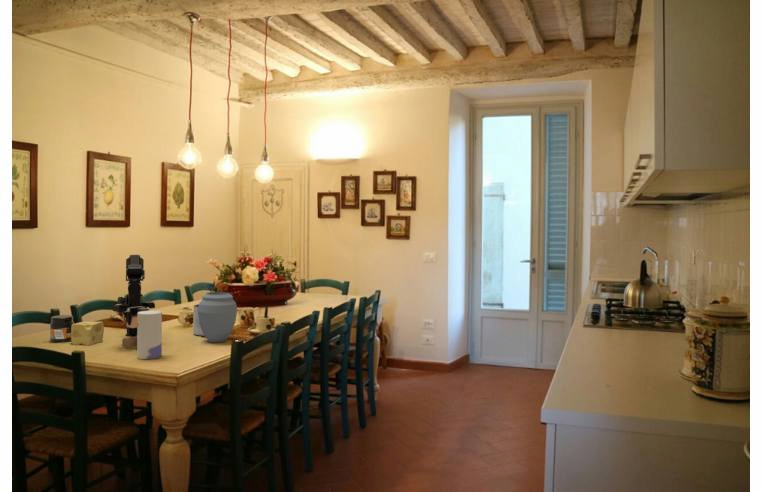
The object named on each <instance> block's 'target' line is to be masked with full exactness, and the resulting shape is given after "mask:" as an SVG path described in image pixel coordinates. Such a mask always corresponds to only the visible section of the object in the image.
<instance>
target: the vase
mask: <svg viewBox="0 0 764 492" xmlns="http://www.w3.org/2000/svg"><path fill="white" fill-rule="evenodd" d="M233 298H234V296H233V295H232V294H230V292H228V291H227V292H225V291H213V292H212V291H211V292H207V293H204V294H203V296H202V298H201V301H200V302H199V303H198V304H199V306H198V310H197V311H198V318H199V323H200V326H201V329H202V332H203V334H204V335H205V336H204V337H205V339H207V341H209V342H210V343H223V341H224V342H225V341H227V340H228V339H229V337H230V335H231V333H232V332H233V329H234V327H235V324H236V320H237V314H238V306H237V302H236V301H235V300H234V299H233Z"/></svg>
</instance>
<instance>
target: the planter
mask: <svg viewBox="0 0 764 492" xmlns="http://www.w3.org/2000/svg"><path fill="white" fill-rule="evenodd" d="M198 306H199V303H198V304H195V305H193V316H192V317H193V318H192V319H193V321H192V323H193V325H192V333H193V334H194V335H195V336H197V337H205V335H204V334H203V332H202V329H201V326H200V323H199V318H198V311H197V310H198Z"/></svg>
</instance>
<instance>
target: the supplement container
mask: <svg viewBox="0 0 764 492" xmlns="http://www.w3.org/2000/svg"><path fill="white" fill-rule="evenodd" d="M72 324H75V322H74V316H73V315H71V314H64V315H63V314H59V315H54V316H53V315H52V316H51V317H50V324H49V327H50V328H49V331H50V332H49V336H50V338H49V339H50V340H49V341H51V342H52V343H68V342H72V341H71V326H72Z"/></svg>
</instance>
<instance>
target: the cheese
mask: <svg viewBox="0 0 764 492" xmlns="http://www.w3.org/2000/svg"><path fill="white" fill-rule="evenodd" d="M104 332H105V327H104V322H103V321H88V320H87V321H86V320H85V321H80V322H76V323H74V324H72V326H71V341H70V342H71V345H83V346H91V345H95V344H99V343H103V339H104Z"/></svg>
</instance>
